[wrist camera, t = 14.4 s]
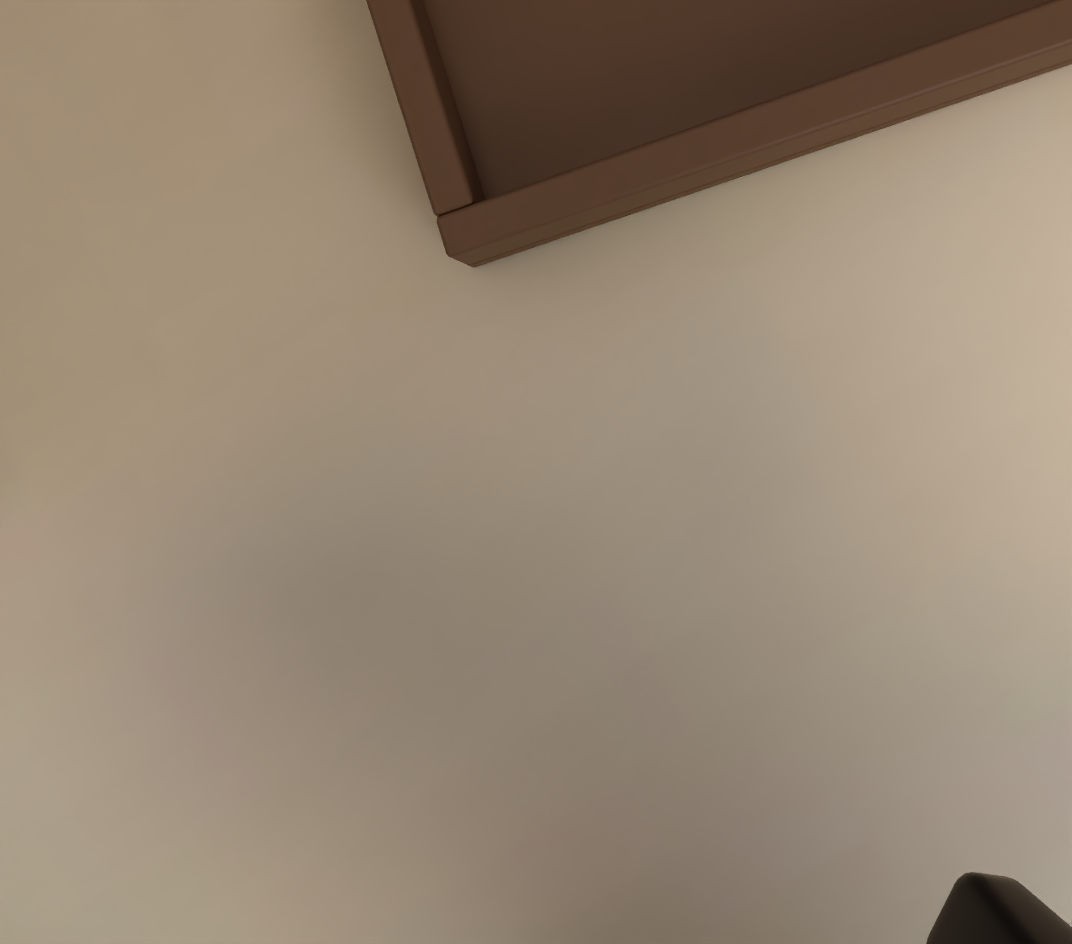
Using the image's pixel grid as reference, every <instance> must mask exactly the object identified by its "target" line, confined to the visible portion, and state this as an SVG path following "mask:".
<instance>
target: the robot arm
mask: <svg viewBox="0 0 1072 944" xmlns="http://www.w3.org/2000/svg"><path fill="white" fill-rule="evenodd" d="M926 944H1072V927H1071V926H1070V925H1068V924H1067V923H1066V922H1065V921H1064V920H1063V919H1061V918H1060V917H1059V916H1058V915H1057V914H1056V913H1054V912H1053V911H1052V910H1051V909H1050V908H1048V907H1047V906H1046V905H1045V904H1044V903H1043V902H1041V901H1040V900H1039V899H1038V898H1037V897H1036V896H1034V895H1033V894H1032V893H1031V892H1030V891H1029V890H1027V889H1026V888H1025V887H1024V886H1023V885H1021V884H1020V883H1019V882H1018V881H1016V880H1014V879H1011V878H1008V877H1005V876H997V875H990V874H983V873H975V872H970V873H965V874H964V875H962V876H961V877H960V878H958V880H957V881H956V883H955V884H954V886H953V888H952V890H951V892H950V894H949V896H948V898H947V900H946V902H945V904H944V906H943V908H942V910H941V912H940V914H939V916H938V918H937V920H936V922H935V924H934V926H933V928H932V930H931V932H930V934H929V936H928V939H927V943H926Z"/></svg>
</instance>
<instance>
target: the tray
mask: <svg viewBox="0 0 1072 944" xmlns="http://www.w3.org/2000/svg"><path fill="white" fill-rule="evenodd" d="M366 1H367V4H368V7H369V10H370V13H371V16H372V20H373V23H374V26H375V29H376V32H377V35H378V39H379V42H380V45H381V48H382V51H383V54H384V58H385V61H386V64H387V67H388V70H389V73H390V76H391V80H392V83H393V86H394V89H395V92H396V95H397V99H398V102H399V105H400V108H401V111H402V114H403V118H404V121H405V124H406V127H407V130H408V133H409V137H410V140H411V143H412V146H413V149H414V152H415V155H416V159H417V162H418V165H419V168H420V171H421V174H422V178H423V181H424V184H425V187H426V190H427V193H428V197H429V200H430V203H431V206H432V209H433V212H434V214H435V215H436V216H438V218H437V225H438V228H439V231H440V234H441V237H442V241H443V244H444V247H445V250H446V253H447V255H448V256H449V257H451V258H454V259H456V260H458V261H460V262H463V263H465V264H467V265H468V266H471V267H477V266H480V265H483V264H486V263H489V262H492V261H494V260H497V259H500V258H503V257H506V256H509V255H512V254H515V253H518V252H521V251H524V250H527V249H530V248H533V247H536V246H539V245H541V244H544V243H547V242H550V241H553V240H556V239H559V238H562V237H565V236H568V235H571V234H574V233H577V232H580V231H583V230H585V229H588V228H591V227H594V226H597V225H600V224H603V223H606V222H609V221H612V220H615V219H618V218H621V217H624V216H627V215H630V214H632V213H635V212H638V211H641V210H644V209H647V208H650V207H653V206H656V205H659V204H662V203H665V202H668V201H671V200H674V199H676V198H679V197H682V196H685V195H688V194H691V193H694V192H697V191H700V190H703V189H706V188H709V187H712V186H715V185H718V184H721V183H723V182H726V181H729V180H732V179H735V178H738V177H741V176H744V175H747V174H750V173H753V172H756V171H759V170H762V169H765V168H768V167H770V166H773V165H776V164H779V163H782V162H785V161H788V160H791V159H794V158H797V157H800V156H803V155H806V154H809V153H812V152H814V151H817V150H820V149H823V148H826V147H829V146H832V145H835V144H838V143H841V142H844V141H847V140H850V139H853V138H856V137H859V136H861V135H864V134H867V133H870V132H873V131H876V130H879V129H882V128H885V127H888V126H891V125H894V124H897V123H900V122H903V121H905V120H908V119H911V118H914V117H917V116H920V115H923V114H926V113H929V112H932V111H935V110H938V109H941V108H944V107H947V106H950V105H952V104H955V103H958V102H961V101H964V100H967V99H970V98H973V97H976V96H979V95H982V94H985V93H988V92H991V91H994V90H996V89H999V88H1002V87H1005V86H1008V85H1011V84H1014V83H1017V82H1020V81H1023V80H1026V79H1029V78H1032V77H1035V76H1038V75H1041V74H1043V73H1046V72H1049V71H1052V70H1055V69H1058V68H1061V67H1064V66H1067V65H1070V64H1072V0H366Z"/></svg>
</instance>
